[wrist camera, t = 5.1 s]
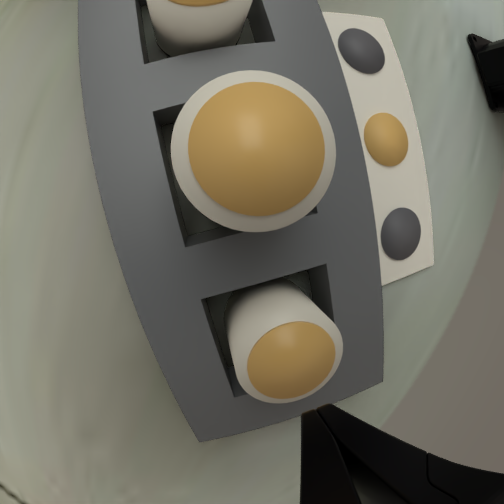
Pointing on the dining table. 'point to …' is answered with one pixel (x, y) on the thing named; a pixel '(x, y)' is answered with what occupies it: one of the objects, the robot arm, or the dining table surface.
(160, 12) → the button
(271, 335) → the button
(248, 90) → the button
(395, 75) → the card
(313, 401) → the board
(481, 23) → the dining table surface
